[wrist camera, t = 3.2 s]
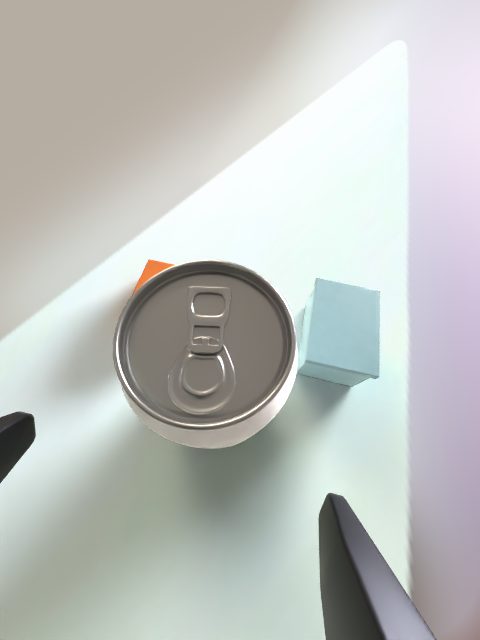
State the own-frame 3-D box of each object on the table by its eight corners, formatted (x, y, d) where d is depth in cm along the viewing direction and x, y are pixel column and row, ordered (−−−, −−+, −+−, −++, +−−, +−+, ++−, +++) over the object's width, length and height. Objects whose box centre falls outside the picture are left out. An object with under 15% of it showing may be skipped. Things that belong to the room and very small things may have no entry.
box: (354, 389, 20) (379, 377, 16) (293, 375, 20) (305, 360, 17) (358, 314, 22) (380, 290, 19) (304, 302, 23) (316, 277, 19)
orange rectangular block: (166, 343, 21) (160, 333, 19) (126, 333, 21) (116, 323, 19) (190, 279, 23) (187, 266, 22) (153, 271, 24) (147, 257, 22)
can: (167, 447, 18) (69, 445, 7) (179, 352, 21) (122, 245, 10) (266, 449, 18) (321, 451, 7) (264, 355, 21) (302, 252, 10)
